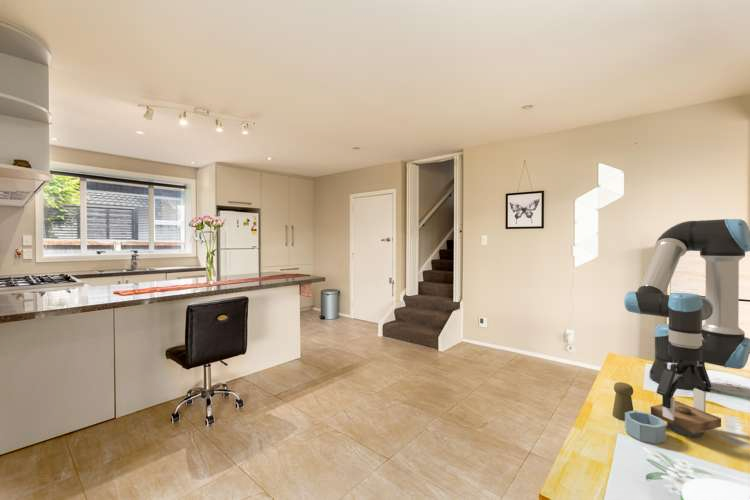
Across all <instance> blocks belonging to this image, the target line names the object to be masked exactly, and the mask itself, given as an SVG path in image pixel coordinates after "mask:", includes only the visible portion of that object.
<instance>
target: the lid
mask: <svg viewBox="0 0 750 500" xmlns="http://www.w3.org/2000/svg"><path fill="white" fill-rule="evenodd" d="M650 414H652V415H654V416H656V417H659V418H661V419H662V420H663V421H664V422H666V423H667V422H669V423H671V424H673V425H675V426H678V427H680V428H682V429H684V430H686V431H689V432H691V433H693V434H696V433H700V432H703V433H704V432H706V431H710V430H714V429H718V428H721V427H722V418H721V417H719V416H716V415H713V414H711V413H708V412H703V411H701V410H698V409H696V408H693V406H690V405H689V404H684V403H682V402H680V401H677V400H675V420H671V419H668V418H666V417H664V416H663V405H662V404H656V405H653V406H650Z"/></svg>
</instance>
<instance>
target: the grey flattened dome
mask: <svg viewBox="0 0 750 500" xmlns="http://www.w3.org/2000/svg"><path fill="white" fill-rule="evenodd" d="M666 425H667V426H666V428H668V429H669V430H670V431H671V432H673V433H676V434H678V435H680V436H684V437H688V438H695V439H696V438H697V439H698V438H702V437H703V436H704V432H700V433H696V434H693V433H691V432H689V431H686V430H684V429H682V428H680V427H678V426H675V425H673V424H671V423H669V422H666Z"/></svg>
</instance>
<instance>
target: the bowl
mask: <svg viewBox="0 0 750 500" xmlns="http://www.w3.org/2000/svg"><path fill="white" fill-rule="evenodd" d="M666 425H667V424H666V423H665V421H664V420H662V419H661V418H659V417H656V416H654V415H652V414H651V412H650V413H649V412H645V411H638V410H634V411H629V412H625V421H624V429H625V432H626V434H627V435H628V436H629V437H631V438H633V439H634V440H636V441H639V442H642V443H646V444H648V445H649V444H650V445H662V444H664V443H665V442H666V440H667V439H666V438H667V437H666V436H667V426H666Z"/></svg>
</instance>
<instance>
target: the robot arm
mask: <svg viewBox="0 0 750 500" xmlns="http://www.w3.org/2000/svg"><path fill="white" fill-rule="evenodd" d="M748 225H749V224H748V223H747V222H746V221H745V220H743V219H741V218H739V219H738V218H737V219H736V218H735V219H734V218H724V219H705V220H704V219H703V220H688V221H683V222H680V223H676V225H673V226H672V227H669V228H668V229H667V230H666V231H664V232H663V233H662V234H661V235H660V236H659V237H658V238H657V240H656V242H655V245H654V249H655V252H654V254H653V257H652V258H651V261H650V263H649V265H648V267H647V269H646V271H645V274H644V276H643V278H642V280H641V282H640V285H639V287H638V289H637V290H636V291H635V290H633V291H632V290H631V291H628V292H626V294H625V295H624V298H623V299H624V300H623V301H624V302H623V303H624V308H625V309H626V311H627V312H630V313H633V314H638V315H648V316H655V317H664V318H667V319H668V323H663V324H658V325H656V327H655V329H654V361H653V363H652V366H651V367H650V370H649V379H650V380H651V381H652V382H655V383H658V385H657V389H656V394H658V395H661V396H662V405H663V416H664V417H666V418H668V419H671V420H675V401H676V400H675V399H676V398H675V397H674V395H675V393H676V391H677V389H681V390H682V389H683V390H692V391H693V392H692V393H693V399H692V401H693V404H692V405H693V406H692V407H693V408H696V409H698V410H701V411H703V412H706V403H707V401H706V399H707V398H706V397H707V396H706V392H707V393H711V390H712V389H711V388H712V383H711V380H710V377H709V375H708V372H707V368H706V364H710V365H714V366H715V365H716V366H719V367H723V368H729V369H735V370H741V369H744V368H745V366H746V365H747V363H748V360H749V357H750V338H749V337H746V336H745V335H746V334H745V331H744V330H743V329H741V328H740V326H739V310H740V309H739V302H740V301H739V299H740V298H739V296H740V295H739V291H740V290H739V289H740V286H739V285H740V284H739V283H740V282H739V281H740V280H739V278H740V276H739V275H740V274H739V273H740V269H739V267H740V266H739V265H740V264H739V263H740V261H741V260H742V259H743V258H745V257H746V253H748V252H750V227H749V226H748ZM687 252H699V256H700V257H701V258H702V259H703V260H705V261H704V262H705V297H703V296H701V295H699V294H697V293H688V292H672V293H670V294H666V292H667V290H668V288H669V285H670V283H671V280H672V278H673V276H674V273H675V272H676V271H675V270H676V269H677V266H678V264H679V261H680V259H681V257H683V256H685V254H686V253H687ZM703 321H705V323H704V324H703ZM706 413H707V412H706Z"/></svg>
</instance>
